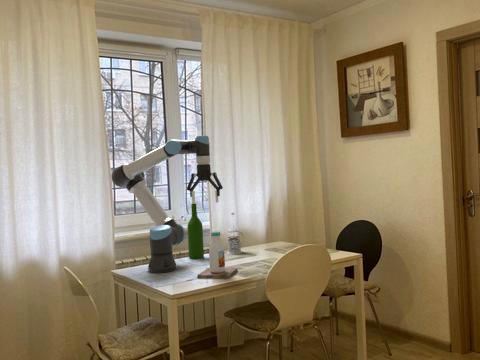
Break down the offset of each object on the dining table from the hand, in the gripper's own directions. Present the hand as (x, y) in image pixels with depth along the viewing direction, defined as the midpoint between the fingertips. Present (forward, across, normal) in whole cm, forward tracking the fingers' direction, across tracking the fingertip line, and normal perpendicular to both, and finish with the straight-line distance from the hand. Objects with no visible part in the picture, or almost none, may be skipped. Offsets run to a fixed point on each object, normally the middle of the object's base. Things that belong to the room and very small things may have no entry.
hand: (205, 202), depth 266 cm
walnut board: (+35, +12, -20) cm, 42 cm away
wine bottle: (+35, -15, +21) cm, 44 cm away
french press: (+35, +5, +38) cm, 52 cm away
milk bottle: (+33, +12, -20) cm, 41 cm away
